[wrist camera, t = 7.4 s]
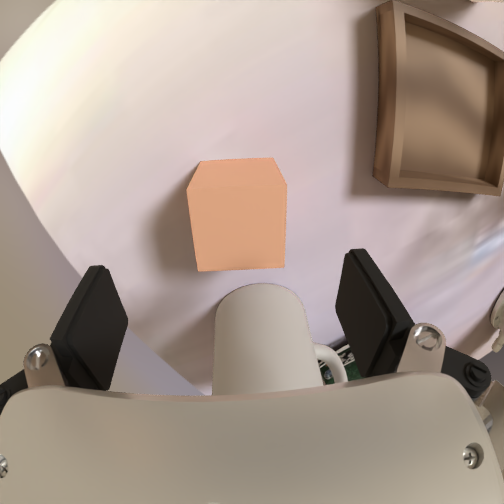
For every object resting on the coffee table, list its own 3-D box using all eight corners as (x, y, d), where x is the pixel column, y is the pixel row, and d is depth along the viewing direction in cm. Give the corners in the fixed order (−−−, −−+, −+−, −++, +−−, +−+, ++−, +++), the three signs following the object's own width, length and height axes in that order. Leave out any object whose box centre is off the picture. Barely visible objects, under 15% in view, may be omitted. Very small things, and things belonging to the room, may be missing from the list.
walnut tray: (483, 185, 20) (500, 196, 18) (372, 175, 20) (387, 187, 18) (494, 56, 13) (513, 58, 11) (375, 7, 12) (392, -1, 10)
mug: (206, 336, 28) (200, 434, 19) (229, 272, 24) (227, 387, 14) (311, 353, 30) (331, 439, 21) (349, 299, 26) (388, 394, 17)
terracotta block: (272, 221, 22) (284, 267, 16) (207, 224, 21) (198, 271, 16) (273, 157, 19) (287, 184, 14) (200, 161, 19) (186, 189, 14)
